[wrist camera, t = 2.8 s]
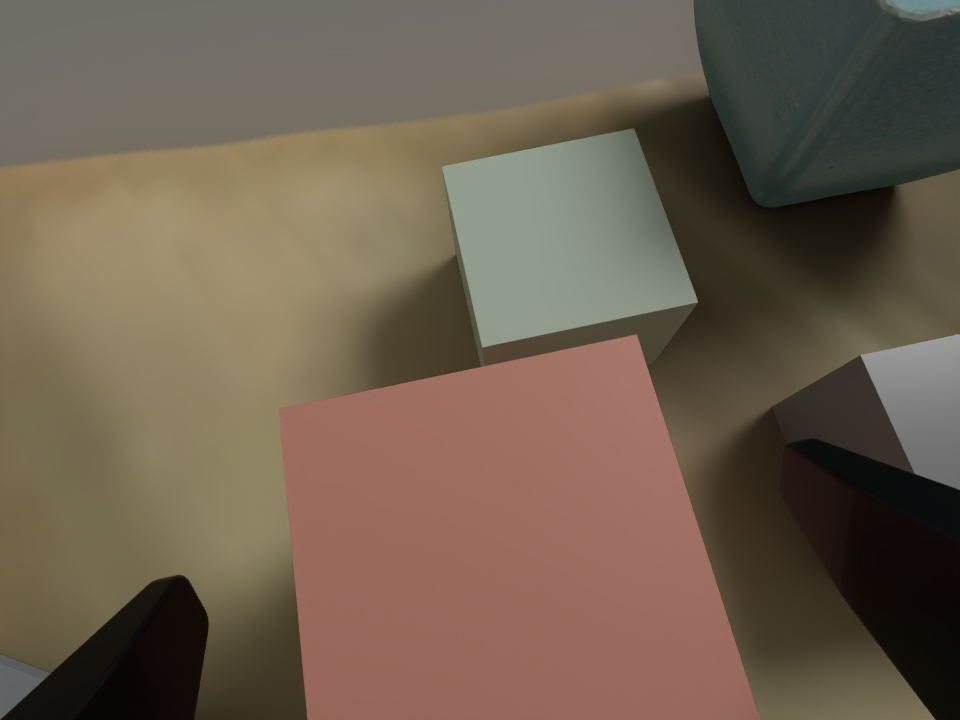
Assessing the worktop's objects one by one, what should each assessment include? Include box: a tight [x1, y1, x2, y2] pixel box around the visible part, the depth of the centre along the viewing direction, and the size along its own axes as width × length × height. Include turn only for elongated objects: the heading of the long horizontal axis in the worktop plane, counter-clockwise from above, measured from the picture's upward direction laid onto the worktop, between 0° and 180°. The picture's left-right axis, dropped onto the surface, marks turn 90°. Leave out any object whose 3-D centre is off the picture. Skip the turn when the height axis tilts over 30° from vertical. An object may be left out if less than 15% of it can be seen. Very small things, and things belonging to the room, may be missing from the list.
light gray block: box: [772, 334, 960, 490], centre depth 14 cm, size 5×5×4 cm
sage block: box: [442, 128, 698, 367], centre depth 16 cm, size 5×5×4 cm
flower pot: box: [694, 0, 960, 208], centre depth 15 cm, size 9×9×9 cm
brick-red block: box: [279, 335, 760, 720], centre depth 11 cm, size 5×5×9 cm
